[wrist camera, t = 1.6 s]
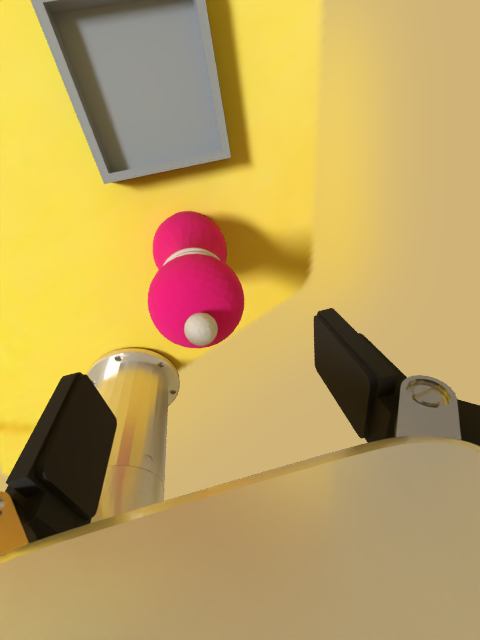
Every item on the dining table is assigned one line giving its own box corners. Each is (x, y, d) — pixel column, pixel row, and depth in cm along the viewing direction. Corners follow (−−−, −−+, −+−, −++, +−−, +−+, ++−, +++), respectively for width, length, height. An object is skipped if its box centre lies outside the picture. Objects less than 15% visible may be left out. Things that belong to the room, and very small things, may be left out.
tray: (226, 157, 27) (231, 157, 25) (110, 182, 26) (104, 183, 24) (197, -18, 21) (199, -38, 19) (42, 7, 20) (26, -12, 18)
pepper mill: (147, 257, 30) (109, 376, 14) (167, 193, 28) (151, 244, 11) (206, 278, 33) (236, 400, 16) (230, 222, 30) (295, 299, 13)
